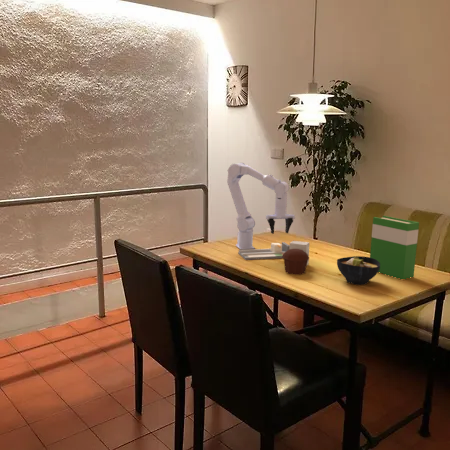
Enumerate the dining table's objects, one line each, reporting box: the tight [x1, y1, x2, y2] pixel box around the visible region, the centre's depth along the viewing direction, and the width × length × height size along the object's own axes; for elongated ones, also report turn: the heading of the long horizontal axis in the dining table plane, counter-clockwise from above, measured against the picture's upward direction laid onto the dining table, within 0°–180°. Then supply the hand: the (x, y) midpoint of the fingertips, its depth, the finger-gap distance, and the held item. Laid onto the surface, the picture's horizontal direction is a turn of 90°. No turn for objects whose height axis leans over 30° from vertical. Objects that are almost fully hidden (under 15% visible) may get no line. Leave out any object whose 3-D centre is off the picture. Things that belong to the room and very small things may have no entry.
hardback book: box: [369, 215, 420, 280], centre depth 208 cm, size 18×7×24 cm, turn 34°
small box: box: [289, 240, 310, 266], centre depth 219 cm, size 8×6×10 cm
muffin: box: [282, 249, 310, 276], centre depth 208 cm, size 12×11×10 cm
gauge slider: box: [270, 242, 282, 252], centre depth 236 cm, size 8×4×4 cm, turn 14°
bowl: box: [336, 255, 380, 286], centre depth 196 cm, size 17×17×10 cm
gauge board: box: [238, 241, 290, 261], centre depth 234 cm, size 12×24×5 cm, turn 104°
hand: (279, 233), depth 240 cm, fingers open, 7 cm apart
